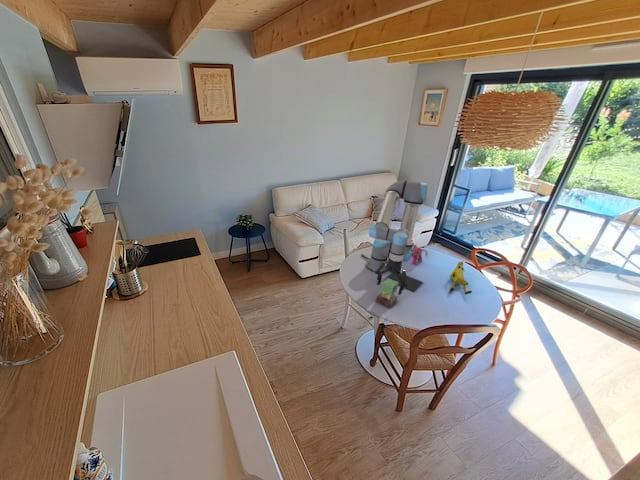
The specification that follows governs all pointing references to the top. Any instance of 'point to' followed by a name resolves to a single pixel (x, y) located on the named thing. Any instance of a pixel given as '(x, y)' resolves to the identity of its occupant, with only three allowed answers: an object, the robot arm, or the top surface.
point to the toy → (417, 254)
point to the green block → (389, 286)
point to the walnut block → (386, 300)
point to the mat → (412, 282)
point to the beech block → (387, 295)
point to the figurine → (459, 278)
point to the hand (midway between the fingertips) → (388, 289)
